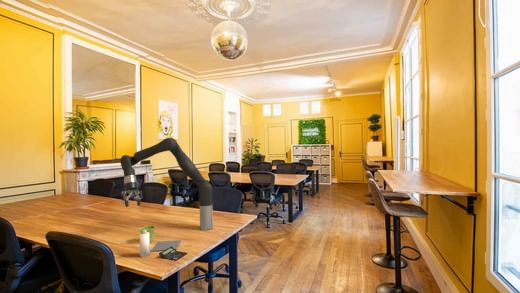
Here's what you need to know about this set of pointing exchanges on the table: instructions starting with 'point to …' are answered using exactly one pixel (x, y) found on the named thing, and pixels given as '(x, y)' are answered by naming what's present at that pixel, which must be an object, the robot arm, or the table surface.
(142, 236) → the bottle
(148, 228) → the plant pot
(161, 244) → the mat
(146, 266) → the table surface
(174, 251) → the calculator
